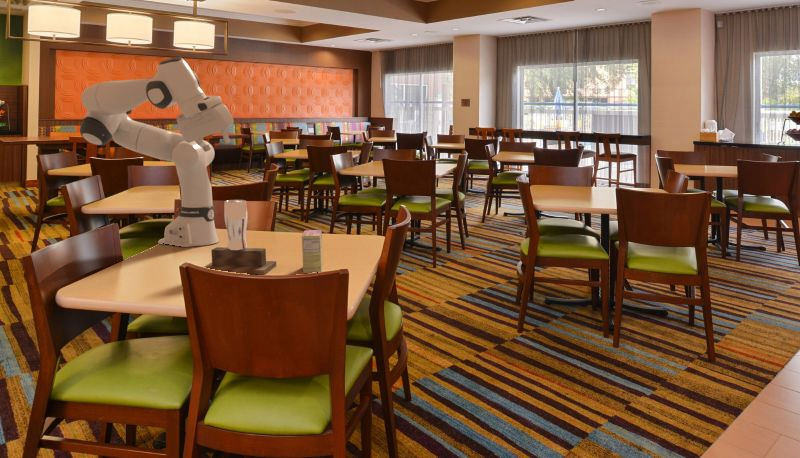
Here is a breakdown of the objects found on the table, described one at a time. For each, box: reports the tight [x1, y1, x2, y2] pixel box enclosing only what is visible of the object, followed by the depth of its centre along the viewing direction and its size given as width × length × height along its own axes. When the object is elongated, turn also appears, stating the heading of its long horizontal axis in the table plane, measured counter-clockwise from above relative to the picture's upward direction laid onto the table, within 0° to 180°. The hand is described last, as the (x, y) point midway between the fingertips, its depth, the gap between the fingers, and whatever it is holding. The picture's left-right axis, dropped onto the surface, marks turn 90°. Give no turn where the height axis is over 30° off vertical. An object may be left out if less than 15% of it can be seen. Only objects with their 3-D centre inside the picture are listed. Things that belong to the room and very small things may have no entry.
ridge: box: [203, 246, 277, 276], centre depth 192 cm, size 20×12×6 cm, turn 84°
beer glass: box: [223, 199, 249, 251], centre depth 191 cm, size 7×7×15 cm
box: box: [301, 229, 324, 274], centre depth 192 cm, size 10×6×12 cm, turn 5°
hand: (217, 147), depth 197 cm, fingers open, 8 cm apart
